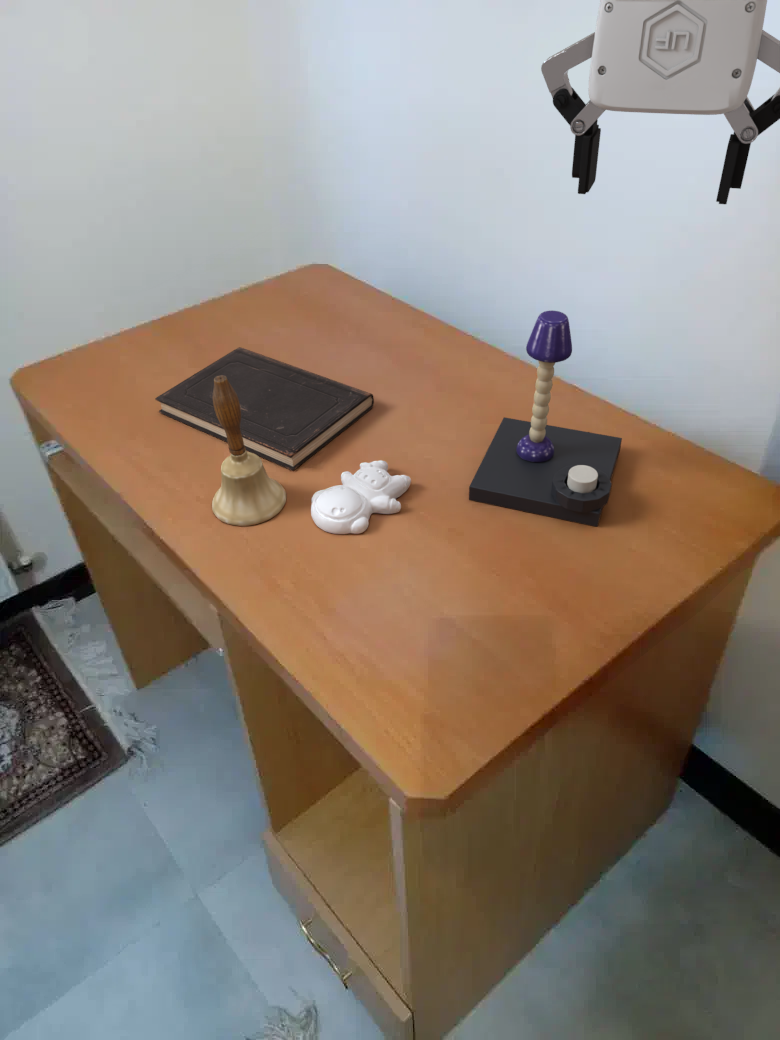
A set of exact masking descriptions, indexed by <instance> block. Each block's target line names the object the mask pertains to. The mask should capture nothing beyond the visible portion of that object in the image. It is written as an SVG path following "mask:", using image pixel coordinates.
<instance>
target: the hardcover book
mask: <svg viewBox="0 0 780 1040" xmlns="http://www.w3.org/2000/svg"><path fill="white" fill-rule="evenodd" d="M220 375H224V376H226V377H227V379H228V381H229V383H230V384H231V386H232V387H233V389H234V391H235V392H236V394H237V397H238V399H239V403H240V409H241V422H240V431H241V435H242V438H243V442H244V445H245V448H246V451H247V452H251V453H254V454H256V455H257V456H259V457H260V458H262V459H265V460H267V461H269V462H271V463H273V464H276V465H277V466H280V467H282V468H284V469H287V470H289V471H291V472H294V471H295V470H296V469H297V468H299V467H300V466H301V465H303V464H304V463H306V461H307V460H309V459H311V458H312V457H313V456H314V455H315V454H316V453H318V452H319V451H321V450H322V449H323V448H325V446H327V445H328V444H329V443H331V442H332V441H333V440H334V439H336V438H337V437H338V436H339V435H340V434H342V433H343V432H344V431H346V430H347V429H348V428H349V427H351V426H352V425H353V424H354V423H356V422H357V421H359V419H361V418H362V417H363V416H364V415H366V414H367V413H368V412H370V411H371V410H372V409H373V407H374V406H375V405H374V404H375V399H374V394H372V393H371V392H368V391H365V390H363V389H359V388H357V387H354V386H351V385H348V384H345V383H343V382H339V381H337V380H334V379H331V378H328V377H327V376H323V375H320V374H317V373H314V372H311V371H309V370H306V369H304V368H300V367H297V366H294V365H292V364H289V363H286V362H283V361H280V360H278V359H275V358H272V357H270V356H267V355H264V354H261V353H258V352H255V351H253V350H251V349H247V348H244V347H242V346H239V347H236V348H235V349H234V350H232V351H230V352H228V353H227V354H225V355H224V356H222V357H220V358H218V359H217V360H215V361H213V362H212V363H210V364H209V365H207V366H205V367H204V368H203V369H201V370H199V371H197V372H196V373H194V374H193V375H191V376H189V377H187V378H186V379H184V380H182V381H181V382H179V383H178V384H176V385H174V386H173V387H171V388H170V389H167V390H166V391H164V392H163V393H161V394H159V395H157V396H156V397H154V398H155V401H156V402H159V403H160V407H161V409H160V410H159V409H158V413H159V414H161V415H164V416H165V417H168V418H170V419H173V420H175V421H177V422H180V423H182V424H184V425H187V426H189V427H191V428H193V429H196V430H198V431H200V432H202V433H205V434H207V435H209V436H212V437H214V438H216V439H219V440H220V441H223V442H225V443H228V441H227V436H226V433H225V430H224V428H223V427H222V425H221V424H220V422H219V420H218V418H217V416H216V413H215V410H214V405H213V390H214V378H215V377H217V376H220Z"/></svg>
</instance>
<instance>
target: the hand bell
mask: <svg viewBox="0 0 780 1040" xmlns="http://www.w3.org/2000/svg"><path fill="white" fill-rule="evenodd" d="M213 405H214V410H215V413H216V416H217V418H218V420H219V422H220V424H221V425H222V427H223V428H224V430H225V433H226V436H227V441H228V442H227V446H228V452H229V453H230V455H228V456H227V457H226V458H224V460H223V461H222V463H221V465H220V475H221V483H220V484H221V485H220V487H219V488H218V489H217V491H216V492H215V494H214V496H213V498H212V501H211V510H212V513H213V515H214V516H215V517H216V518H217V519H218V520H219V521H220V522H223V523H224V524H228V525H231V526H238V527H248V526H255V525H258V524H262V523H265V522H266V521H269V520H270V519H273V518H274V517H275V516H277V515H278V514H279V513H280V512H281V511H282V510H283V508H284V506H285V505H286V502H287V492H286V490H285V488H284V487H283V485H282V484H281V483H280V482H279V481H278V480H276V479H274V478H272V477H270V476H269V475H268V473H267V471H266V469H265V466H264V463H263V460H262V459H261V457H260V456H257V455H256V454H254V453H251V452H248V451H246V448H245V445H244V442H243V438H242V435H241V431H240V422H241V409H240V403H239V399H238V397H237V394H236V392H235V391H234V389H233V387H232V386H231V384H230V383H229V381H228V379H227V377H226V376H224V375H220V376H217V377H215V378H214V390H213Z"/></svg>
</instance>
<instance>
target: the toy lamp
mask: <svg viewBox="0 0 780 1040" xmlns="http://www.w3.org/2000/svg"><path fill="white" fill-rule="evenodd" d="M569 320H570V319H569V317H568V315H567V314H565V313H564V312H562V311H558V310H545V311H543V312H541V313H539V315H538V316H537V317H536V321H535V323H534V325H533V327H532V330H531V333H530V335H529V338H528V341H527V342H526V347H525V350H526V353H527V355H528V356H529V357H530V358H532V359H534V360H535V361H538V367H537V369H536V376H537V378H536V380H535V384H534V386H535V387H534V389H535V391H534V393H533V404H532V408H531V414H532V416H531V417H530V418H531V419H530V422H531V426H532V427H531V428H530V431H529V435H526V436H524V437H523V438H522V439H521V440H520V441H519V443H518V445H517V448H516V451H517V454H518V455H519V456H520V457H521V458H522V459H524V460H527V461H531V462H544V461H547V460H549V459H551V458H552V457H553V455H554V446H553V443H552V442H551V440H550V439H549V438H548V437H546V436H545V434H546V431H545V427H546V425H548V417H547V416H548V415H549V412H550V405H549V404H550V401H551V398H552V394H551V391H552V389H553V378H554V375H555V364H556V363H561V362H564V361H566V360H567V359H569V358H570V357H571V356H572V353H573V342H572V336H571V335H572V334H571V328H570V321H569Z"/></svg>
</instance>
